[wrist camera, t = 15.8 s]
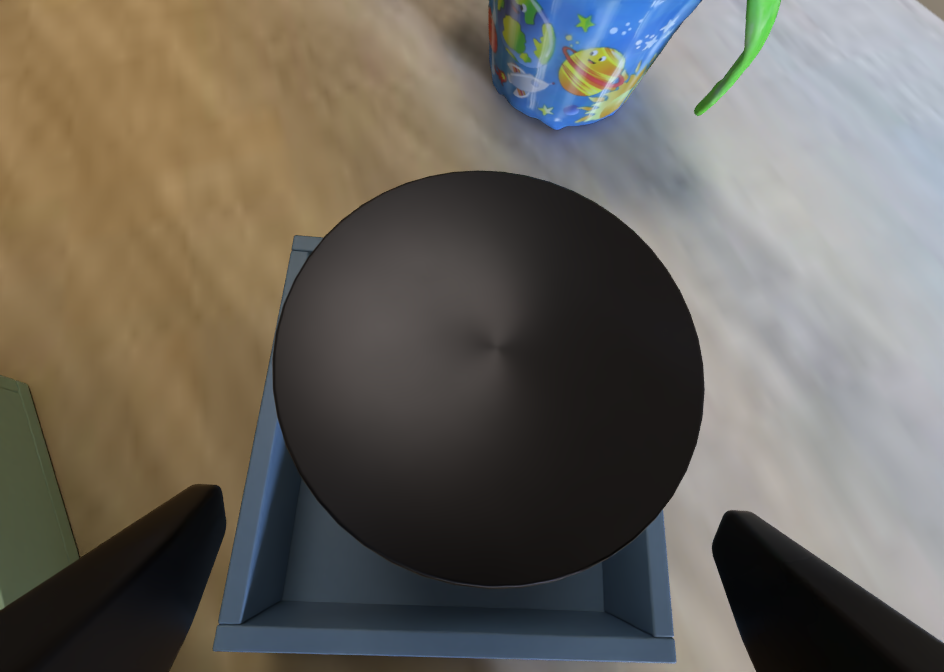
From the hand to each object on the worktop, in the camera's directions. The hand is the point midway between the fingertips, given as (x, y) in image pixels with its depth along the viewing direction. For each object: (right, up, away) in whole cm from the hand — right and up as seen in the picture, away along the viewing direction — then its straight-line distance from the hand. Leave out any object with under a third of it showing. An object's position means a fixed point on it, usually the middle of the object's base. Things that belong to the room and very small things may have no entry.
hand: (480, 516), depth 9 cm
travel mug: (-1, -1, +10) cm, 10 cm away
